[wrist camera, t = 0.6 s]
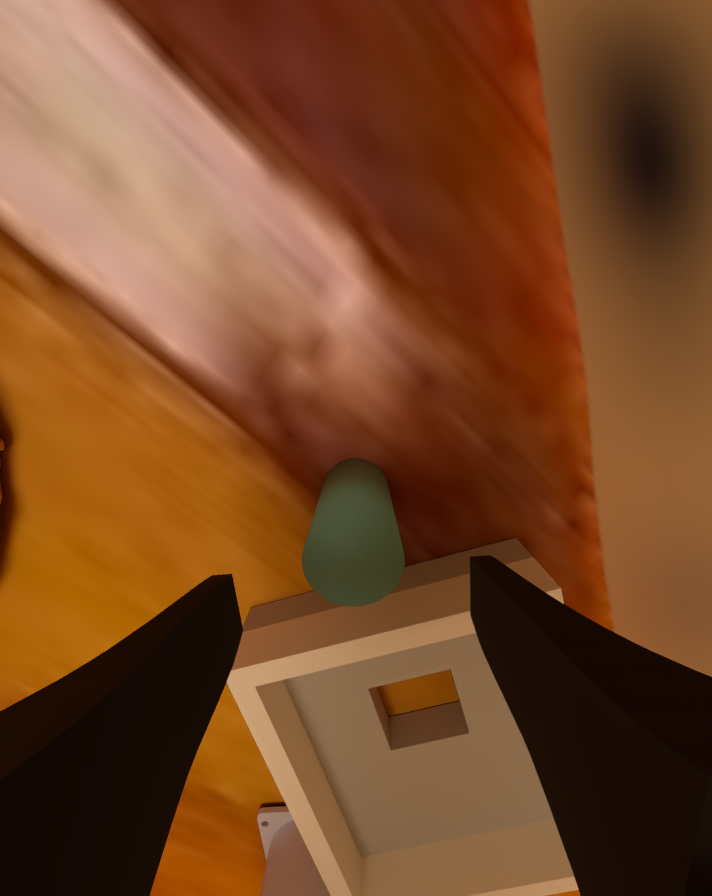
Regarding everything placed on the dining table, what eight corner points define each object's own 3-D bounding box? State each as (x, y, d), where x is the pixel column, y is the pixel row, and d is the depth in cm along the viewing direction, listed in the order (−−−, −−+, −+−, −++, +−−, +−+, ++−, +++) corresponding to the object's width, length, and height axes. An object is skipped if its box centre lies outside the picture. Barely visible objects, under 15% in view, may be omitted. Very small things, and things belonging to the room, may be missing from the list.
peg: (390, 518, 19) (407, 603, 13) (326, 523, 19) (308, 609, 13) (386, 456, 18) (401, 510, 12) (319, 461, 19) (295, 519, 12)
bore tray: (570, 788, 24) (616, 882, 20) (349, 833, 25) (348, 931, 21) (515, 537, 20) (561, 588, 15) (251, 607, 21) (222, 672, 16)
